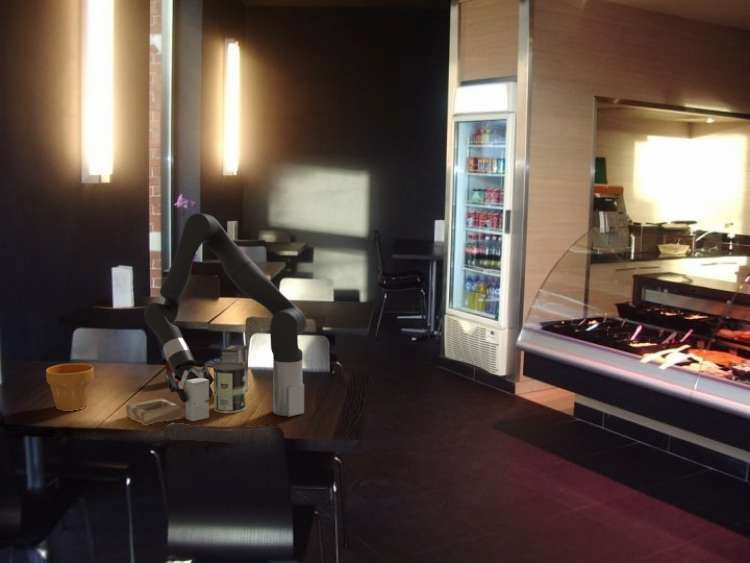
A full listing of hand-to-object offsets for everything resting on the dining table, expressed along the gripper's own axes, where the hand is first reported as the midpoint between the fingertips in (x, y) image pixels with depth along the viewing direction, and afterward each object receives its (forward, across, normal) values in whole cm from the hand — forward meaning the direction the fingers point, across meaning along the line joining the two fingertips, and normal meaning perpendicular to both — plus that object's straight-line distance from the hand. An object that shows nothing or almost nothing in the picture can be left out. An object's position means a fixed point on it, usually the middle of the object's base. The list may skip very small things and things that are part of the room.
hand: (198, 398), depth 249 cm
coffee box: (-8, +25, +17) cm, 31 cm away
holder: (-2, -10, +11) cm, 15 cm away
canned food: (-26, +17, +35) cm, 46 cm away
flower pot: (-21, -25, +30) cm, 44 cm away
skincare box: (+4, 0, +5) cm, 6 cm away
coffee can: (+3, +13, +6) cm, 15 cm away
